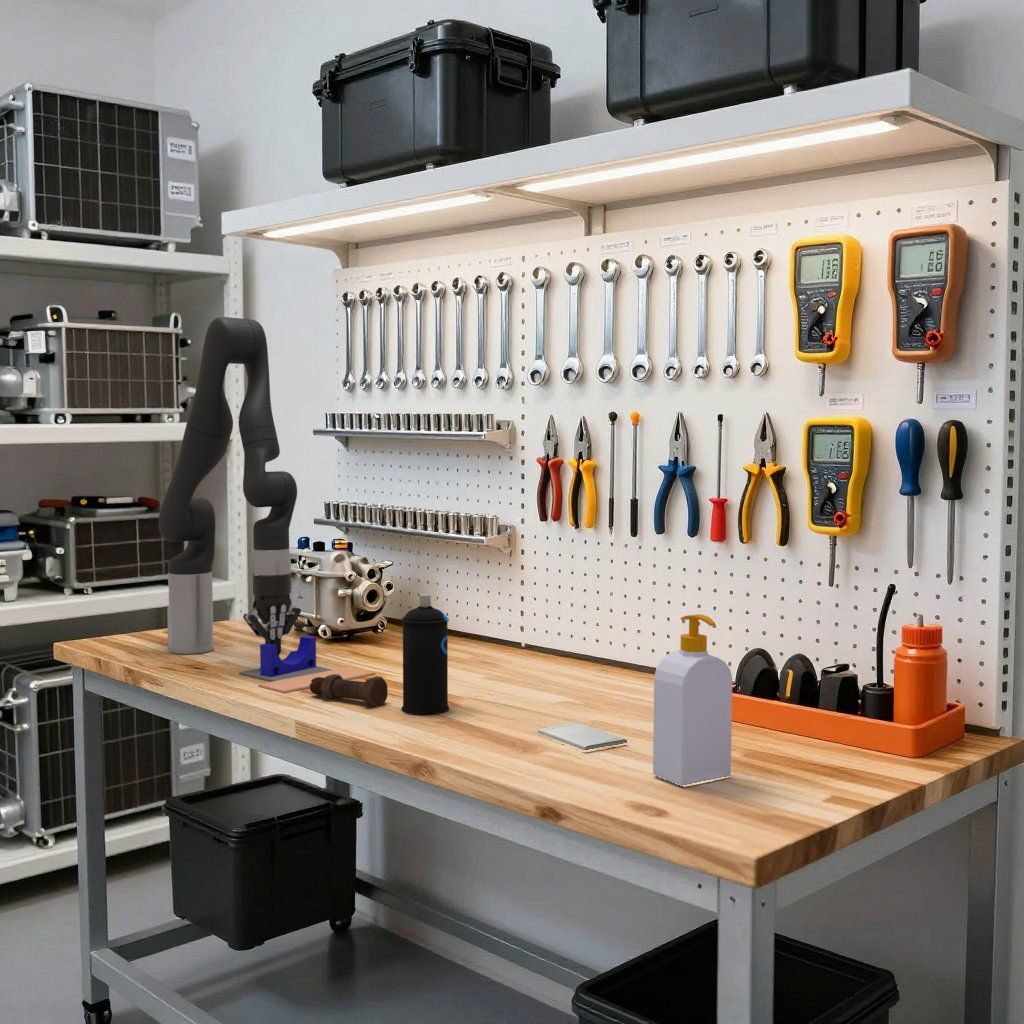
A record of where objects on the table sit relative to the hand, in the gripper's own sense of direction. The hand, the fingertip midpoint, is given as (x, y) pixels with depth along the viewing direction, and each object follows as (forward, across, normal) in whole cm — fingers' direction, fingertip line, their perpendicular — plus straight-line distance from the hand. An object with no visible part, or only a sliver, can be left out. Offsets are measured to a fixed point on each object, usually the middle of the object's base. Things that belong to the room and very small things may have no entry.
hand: (273, 656), depth 231 cm
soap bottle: (+3, +4, +102) cm, 103 cm away
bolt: (+3, +7, +31) cm, 32 cm away
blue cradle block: (+2, 0, +4) cm, 5 cm away
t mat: (+3, 0, +8) cm, 9 cm away
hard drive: (+4, -1, +78) cm, 79 cm away
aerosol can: (+3, +2, +46) cm, 47 cm away
